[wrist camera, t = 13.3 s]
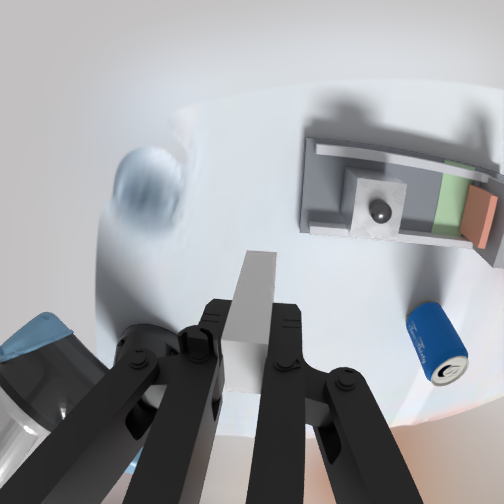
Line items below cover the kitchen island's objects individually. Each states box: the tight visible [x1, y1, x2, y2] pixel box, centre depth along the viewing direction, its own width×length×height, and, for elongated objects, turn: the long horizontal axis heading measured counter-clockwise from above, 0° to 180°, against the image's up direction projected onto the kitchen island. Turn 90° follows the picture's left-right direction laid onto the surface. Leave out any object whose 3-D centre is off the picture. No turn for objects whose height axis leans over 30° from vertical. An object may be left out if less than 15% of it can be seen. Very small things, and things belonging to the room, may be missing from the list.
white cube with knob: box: [340, 167, 407, 240], centre depth 28 cm, size 5×6×7 cm
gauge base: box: [300, 137, 504, 268], centre depth 28 cm, size 28×11×8 cm, turn 89°
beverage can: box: [406, 302, 469, 386], centre depth 34 cm, size 6×6×12 cm
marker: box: [459, 184, 498, 249], centre depth 27 cm, size 1×6×5 cm, turn 0°
